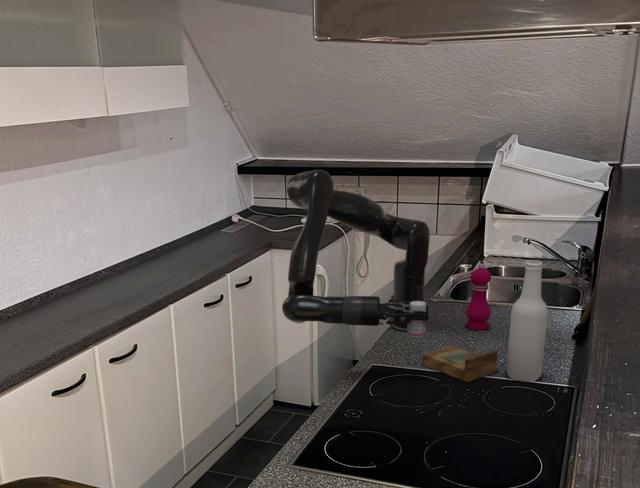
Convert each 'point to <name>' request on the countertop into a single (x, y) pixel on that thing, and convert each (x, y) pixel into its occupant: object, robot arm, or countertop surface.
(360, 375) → the countertop surface
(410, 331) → the pill bottle
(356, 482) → the countertop surface
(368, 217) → the robot arm
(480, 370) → the wooden box
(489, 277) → the pepper mill
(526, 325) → the alcohol
